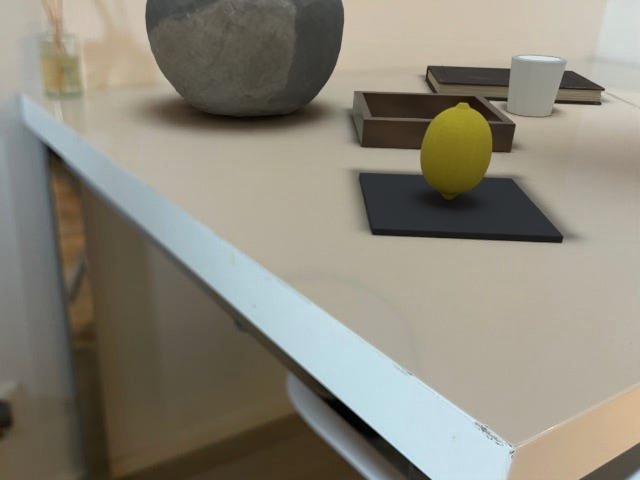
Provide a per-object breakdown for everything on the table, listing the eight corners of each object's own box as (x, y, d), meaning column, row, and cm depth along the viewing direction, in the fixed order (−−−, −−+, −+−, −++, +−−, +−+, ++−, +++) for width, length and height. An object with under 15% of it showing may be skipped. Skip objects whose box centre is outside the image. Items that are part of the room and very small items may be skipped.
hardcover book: (601, 105, 94) (605, 88, 93) (436, 98, 97) (438, 81, 96) (568, 84, 108) (571, 70, 107) (425, 79, 111) (427, 64, 110)
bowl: (157, 137, 74) (150, -10, 67) (144, 94, 95) (138, -21, 88) (365, 130, 79) (378, -8, 72) (309, 90, 100) (315, -19, 93)
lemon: (494, 209, 54) (514, 109, 50) (429, 212, 53) (444, 110, 49) (464, 187, 58) (480, 95, 55) (404, 190, 58) (416, 96, 54)
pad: (510, 183, 61) (511, 177, 61) (562, 242, 49) (564, 236, 49) (359, 177, 62) (359, 172, 62) (372, 234, 50) (372, 228, 50)
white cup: (499, 105, 93) (508, 52, 90) (550, 108, 92) (562, 55, 88) (505, 115, 87) (515, 60, 84) (560, 119, 86) (573, 62, 82)
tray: (476, 118, 85) (480, 94, 84) (510, 152, 71) (516, 124, 70) (352, 114, 86) (354, 90, 85) (361, 146, 72) (363, 119, 71)
